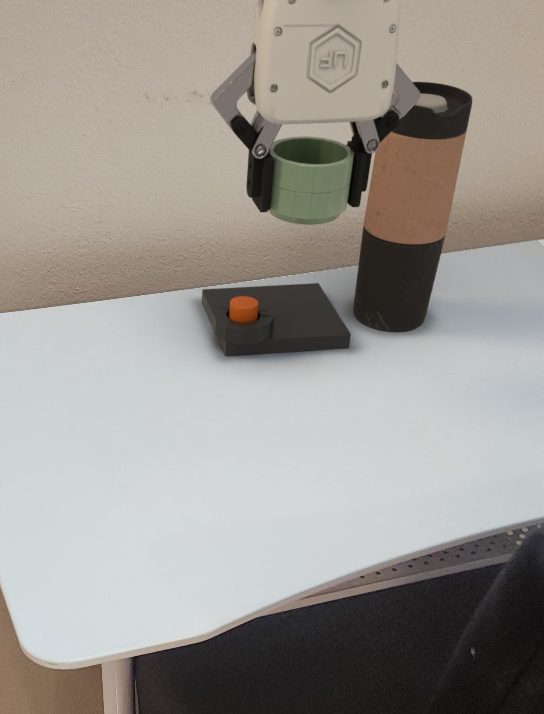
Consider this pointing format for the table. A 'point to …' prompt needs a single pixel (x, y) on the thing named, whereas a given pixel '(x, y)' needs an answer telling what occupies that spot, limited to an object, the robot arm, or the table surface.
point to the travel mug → (410, 209)
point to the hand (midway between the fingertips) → (305, 201)
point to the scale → (277, 320)
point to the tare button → (243, 309)
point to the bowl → (310, 179)
